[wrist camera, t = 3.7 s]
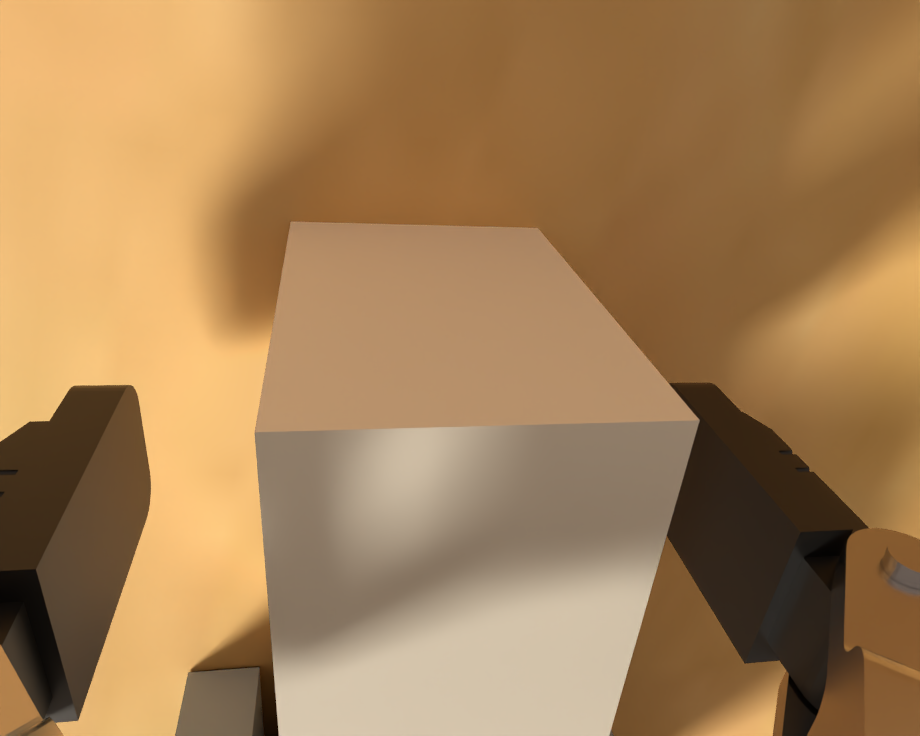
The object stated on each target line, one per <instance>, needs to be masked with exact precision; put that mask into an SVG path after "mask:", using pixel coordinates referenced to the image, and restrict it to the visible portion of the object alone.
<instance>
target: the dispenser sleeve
mask: <svg viewBox="0 0 920 736" xmlns="http://www.w3.org/2000/svg"><path fill="white" fill-rule="evenodd" d="M175 736H264V727H263V713H262V698H261V684H260V669H259V667H255V668H241V669H228V670H214V671H201V672H188V677H187V681H186V686H185V691H184V696H183V701H182V705H181V710H180V715H179V720H178V725H177V729H176V734H175ZM609 736H614V735H613V733H612V730H611V731H610V735H609Z"/></svg>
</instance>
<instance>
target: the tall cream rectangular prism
mask: <svg viewBox="0 0 920 736" xmlns="http://www.w3.org/2000/svg"><path fill="white" fill-rule="evenodd" d="M699 421H700V420H699V419H698V418H697V417H696V415H695V414H694V413H693V412H692V411H691V409H690V408H689V407H688V406H687V405H686V403H685V402H684V401H683V400H682V399H681V398H680V396H679V395H678V394H677V393H676V392H675V390H674V389H673V388H672V387H671V386H670V384H669V383H668V382H667V381H666V380H665V378H664V377H663V376H662V375H661V374H660V373H659V371H658V370H657V369H656V368H655V367H654V365H653V364H652V363H651V362H650V361H649V359H648V358H647V357H646V356H645V355H644V354H643V352H642V351H641V350H640V349H639V348H638V346H637V345H636V344H635V343H634V342H633V340H632V339H631V338H630V337H629V336H628V335H627V333H626V332H625V331H624V330H623V329H622V327H621V326H620V325H619V324H618V323H617V321H616V320H615V319H614V318H613V317H612V316H611V314H610V313H609V312H608V311H607V310H606V308H605V307H604V306H603V305H602V304H601V302H600V301H599V300H598V299H597V298H596V297H595V295H594V294H593V293H592V292H591V291H590V289H589V288H588V287H587V286H586V285H585V283H584V282H583V281H582V280H581V279H580V278H579V276H578V275H577V274H576V273H575V272H574V270H573V269H572V268H571V267H570V266H569V264H568V263H567V262H566V261H565V260H564V259H563V257H562V256H561V255H560V254H559V253H558V251H557V250H556V249H555V248H554V247H553V245H552V244H551V243H550V242H549V241H548V240H547V238H546V237H545V236H544V235H543V234H542V232H541V231H540V230H539V229H538V228H525V227H486V226H447V225H408V224H369V223H330V222H291V223H290V229H289V234H288V240H287V246H286V252H285V258H284V264H283V269H282V275H281V281H280V287H279V293H278V299H277V304H276V310H275V316H274V322H273V328H272V334H271V340H270V345H269V351H268V357H267V363H266V369H265V375H264V380H263V386H262V392H261V398H260V404H259V410H258V415H257V421H256V427H255V444H256V456H257V469H258V481H259V494H260V506H261V519H262V531H263V544H264V556H265V569H266V581H267V594H268V606H269V619H270V631H271V644H272V656H273V669H274V681H275V694H276V706H277V719H278V731H279V736H609V735H610V731H611V728H612V724H613V721H614V717H615V714H616V710H617V707H618V703H619V700H620V696H621V693H622V689H623V686H624V682H625V679H626V675H627V672H628V668H629V665H630V661H631V658H632V655H633V651H634V648H635V644H636V641H637V637H638V634H639V630H640V627H641V623H642V620H643V616H644V613H645V609H646V606H647V602H648V599H649V595H650V592H651V588H652V585H653V581H654V578H655V574H656V571H657V567H658V564H659V560H660V557H661V553H662V550H663V546H664V543H665V539H666V536H667V533H668V529H669V526H670V522H671V519H672V515H673V512H674V508H675V505H676V501H677V498H678V494H679V491H680V487H681V484H682V480H683V477H684V473H685V470H686V466H687V463H688V459H689V456H690V452H691V449H692V445H693V442H694V438H695V435H696V431H697V428H698V424H699Z"/></svg>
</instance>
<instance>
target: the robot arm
mask: <svg viewBox="0 0 920 736" xmlns="http://www.w3.org/2000/svg"><path fill="white" fill-rule="evenodd" d="M669 384H670V386H671V387H672V388H673V389H674V390H675V392H676V393H677V394H678V395H679V396H680V398H681V399H682V400H683V401H684V402H685V403H686V405H687V406H688V407H689V408H690V409H691V411H692V412H693V413H694V414H695V415H696V417H697V418H698V419H699V420H700V421H699V424H698V428H697V431H696V435H695V438H694V442H693V445H692V449H691V452H690V456H689V459H688V463H687V466H686V470H685V473H684V477H683V480H682V484H681V487H680V491H679V494H678V498H677V501H676V505H675V508H674V512H673V515H672V519H671V522H670V526H669V529H668V533H667V537H668V538H669V540H670V542H671V543H672V545H673V546H674V548H675V550H676V551H677V553H678V555H679V556H680V558H681V560H682V561H683V563H684V565H685V566H686V568H687V569H688V571H689V573H690V574H691V576H692V578H693V579H694V581H695V583H696V584H697V586H698V587H699V589H700V591H701V592H702V594H703V596H704V597H705V599H706V601H707V602H708V604H709V606H710V607H711V609H712V610H713V612H714V614H715V615H716V617H717V619H718V620H719V622H720V624H721V625H722V627H723V629H724V630H725V632H726V633H727V635H728V637H729V638H730V640H731V642H732V643H733V645H734V647H735V648H736V650H737V651H738V653H739V655H740V656H741V658H742V660H743V661H744V663H755V662H766V661H777V660H780V661H781V663H782V664H783V666H784V667H785V669H786V672H785V674H784V676H783V678H782V681H781V683H780V686H779V689H778V697H777V705H776V713H775V721H774V729H773V736H920V540H919V539H917V538H914V537H912V536H909V535H907V534H903V533H900V532H897V531H892V530H887V529H879V528H868V527H867V526H866V525H865V524H864V523H863V521H862V520H861V519H860V518H859V517H858V516H857V515H856V514H855V513H854V512H853V511H852V510H851V509H850V508H849V507H848V506H847V505H846V504H845V503H844V502H843V501H842V500H841V499H840V498H839V497H838V496H837V495H836V494H835V493H834V492H833V491H832V490H831V489H830V488H829V487H828V486H827V485H826V484H825V483H824V482H823V481H822V480H821V479H820V478H819V477H818V476H817V475H816V474H815V473H814V472H809V467H808V466H807V465H806V464H805V463H804V462H803V461H802V460H801V459H800V458H799V457H798V456H797V455H796V454H795V455H793V454H792V450H791V449H790V448H789V447H788V445H787V444H786V443H785V442H784V441H783V440H782V439H781V438H780V437H779V436H778V435H777V434H776V433H775V432H774V431H773V430H772V429H770V428H768V427H767V426H765V425H763V424H762V423H760V422H758V421H757V420H755V419H753V418H752V417H750V416H748V415H747V414H745V413H743V412H741V411H740V410H739V409H738V408H737V407H736V406H735V405H734V404H733V403H732V402H731V401H730V400H729V399H728V398H727V397H726V396H725V394H724V393H723V392H722V391H721V390H720V389H719V388H718V387H717V386H716V385H714V384H712V383H669ZM150 494H151V480H150V470H149V464H148V457H147V451H146V445H145V438H144V432H143V426H142V419H141V413H140V406H139V401H138V396H137V393H136V390H135V389H134V387H133V386H131V385H104V386H73V387H72V388H71V389H70V390H69V391H68V393H67V394H66V396H65V398H64V399H63V401H62V402H61V404H60V405H59V407H58V409H57V410H56V412H55V413H54V415H53V416H52V418H51V420H50V421H41V422H29V423H27V424H26V425H24V426H23V427H21V428H20V429H18V430H17V431H16V432H14V433H13V434H11V435H10V436H8V437H7V438H5V439H4V440H2V441H1V442H0V736H63V734H62V732H61V731H60V729H59V728H58V726H57V725H56V723H57V722H68V721H78V719H79V716H80V713H81V711H82V708H83V705H84V702H85V699H86V696H87V693H88V690H89V687H90V684H91V681H92V678H93V675H94V672H95V669H96V666H97V663H98V660H99V657H100V654H101V652H102V649H103V646H104V643H105V640H106V637H107V634H108V631H109V628H110V625H111V622H112V619H113V616H114V613H115V610H116V607H117V604H118V601H119V598H120V595H121V593H122V590H123V587H124V584H125V581H126V578H127V575H128V572H129V569H130V566H131V563H132V560H133V557H134V554H135V551H136V548H137V545H138V542H139V539H140V536H141V534H142V531H143V528H144V525H145V522H146V519H147V515H148V511H149V505H150Z"/></svg>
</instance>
